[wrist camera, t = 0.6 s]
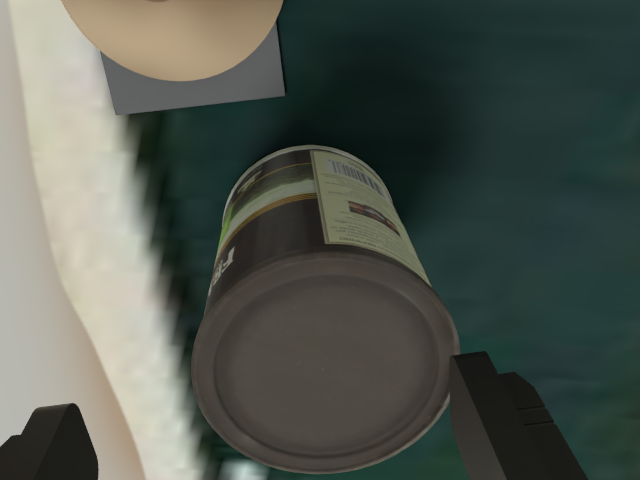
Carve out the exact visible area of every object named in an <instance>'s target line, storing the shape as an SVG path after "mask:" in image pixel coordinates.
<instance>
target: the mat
mask: <svg viewBox="0 0 640 480" xmlns="http://www.w3.org/2000/svg"><path fill="white" fill-rule="evenodd" d="M100 53H101V57H102V61H103V65H104V69H105V73H106V77H107V81H108V85H109V89H110V94H111V98H112V102H113V106H114V110H115V114H116V115H123V114H132V113H140V112H149V111H158V110H166V109H175V108H184V107H192V106H201V105H210V104H218V103H227V102H236V101H245V100H253V99H262V98H271V97H279V96H285V90H284V82H283V74H282V66H281V58H280V50H279V42H278V34H277V26H276V21H275V23H274V25H273V27H272V28H271V30H270V31H269V33H268V35H267V36H266V38H265V39H264V40H263V41H262V43H261V44H260V45H259V46H258V47H257V48H256V50H255V51H253V52H252V53H251V54H250V55H249V56H248V57H247V58H246V59H244V60H243V61H241V62H240V63H238V64H237V65H236V66H234V67H232V68H230V69H228V70H226V71H224V72H222V73H220V74H217V75H214V76H211V77H208V78H204V79H199V80H193V81H168V80H161V79H156V78H151V77H147V76H145V75H142V74H139V73H136V72H133V71H131V70H129V69H127V68H125V67H123V66H121V65H120V64H118V63H116V62H115V61H113V60H112V59H110V58H109V57H107V56H106V55H105V54H104V53H102V52H101V51H100Z"/></svg>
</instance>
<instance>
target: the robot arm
mask: <svg viewBox="0 0 640 480" xmlns="http://www.w3.org/2000/svg"><path fill="white" fill-rule="evenodd" d="M449 377H450V414H451V422H452V428H453V432H454V436H455V440H456V443H457V445H458V448H459V451H460V454H461V456H462V459H463V462H464V465H465V467H466V470H467V473H468V476H469V478H470V480H588V478H587V477H586V475H585V473H584V472H583V470H582V468H581V466H580V465H579V463H578V461H577V460H576V458H575V456H574V454H573V453H572V451H571V449H570V448H569V446H568V444H567V443H566V441H565V439H564V437H563V436H562V434H561V432H560V431H559V429H558V427H557V425H555V424H554V420H553V419H552V417H551V415H550V414H549V412H548V410H547V409H545V405H544V403H543V402H542V400H541V398H540V396H539V395H538V393H537V391H536V390H535V388H534V387H533V386H532V385H531V384H530V383H528V382H527V381H526V380H524V379H523V378H522V377H520V376H519V375H518V374H517V373H515V372H511V373H503V374H498V373H497V371H496V369H495V367H494V365H493V363H492V361H491V359H490V357H489V356H488V354H487V353H486V352H485V351H482V352H474V353H467V354H459V355H451V356H450V359H449ZM0 480H98V461H97V456H96V453H95V450H94V447H93V445H92V442H91V439H90V437H89V434H88V431H87V428H86V426H85V423H84V420H83V418H82V415H81V412H80V410H79V408H78V406H77V405H76V404H74V403H71V404H62V405H55V406H47V407H39V408H37V409H35V410H34V412H33V413H32V415H31V417H30V419H29V421H28V422H27V424H26V426H25V428H24V430H23V432H22V434H21V435H14V436H11V437H10V438H9V439H8V440H7V441H6V442H5V443H4V444H3V445H2V446H1V447H0Z"/></svg>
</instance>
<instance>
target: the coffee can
mask: <svg viewBox="0 0 640 480" xmlns="http://www.w3.org/2000/svg"><path fill="white" fill-rule="evenodd" d="M459 354H461V353H460V345H459V338H458V334H457V330H456V327H455V324H454V322H453V319H452V317H451V315H450V313H449V311H448V310H447V308H446V306H445V304H444V303H443V301H442V300H441V298H440V297H439V295H438V294H437V293H436V292H435V291H434V289H433V287H432V284H431V282H430V280H429V278H428V276H427V273H426V271H425V269H424V267H423V265H422V263H421V261H420V259H419V257H418V255H417V253H416V251H415V249H414V247H413V245H412V243H411V241H410V239H409V237H408V234H407V232H406V230H405V228H404V226H403V224H402V222H401V220H400V218H399V215H398V213H397V211H396V209H395V207H394V205H393V202H392V199H391V196H390V194H389V192H388V190H387V188H386V186H385V184H384V183H383V181H382V180H381V178H380V177H379V176H378V175H377V174H376V172H375V171H374V170H373V169H371V168H370V167H369V166H368V165H367V164H365V163H364V162H363V161H361V160H360V159H358V158H357V157H355V156H353V155H351V154H349V153H347V152H344V151H341V150H339V149H335V148H331V147H326V146H318V145H303V146H294V147H289V148H286V149H282V150H279V151H276V152H274V153H272V154H270V155H268V156H266V157H264V158H262V159H261V160H259V161H258V162H256V163H255V164H254V165H253V166H251V167H250V168H249V169H248V170H247V171H246V172H245V173H244V174H243V175H242V176H241V177H240V179H239V180H238V181H237V183H236V184H235V186H234V187H233V189H232V191H231V193H230V195H229V197H228V200H227V203H226V206H225V210H224V215H223V223H222V232H221V237H220V242H219V247H218V252H217V257H216V261H215V266H214V270H213V275H212V280H211V284H210V289H209V293H208V298H207V303H206V308H205V312H204V318H203V320H202V322H201V324H200V327H199V330H198V333H197V336H196V339H195V343H194V348H193V354H192V359H191V374H192V383H193V388H194V394H195V397H196V400H197V402H198V405H199V407H200V409H201V411H202V413H203V415H204V416H205V418H206V420H207V421H208V423H209V424H210V425H211V427H212V428H213V429H214V430H215V431H216V432H217V433H218V434H219V435H220V436H221V437H222V438H223V439H224V440H225V441H226V442H227V443H228V444H229V445H230V446H232V447H233V448H235V449H236V450H238V451H239V452H241V453H242V454H244V455H246V456H248V457H250V458H252V459H253V460H255V461H258V462H260V463H262V464H265V465H267V466H270V467H274V468H277V469H281V470H286V471H290V472H296V473H309V474H331V473H340V472H348V471H352V470H357V469H361V468H364V467H368V466H371V465H374V464H376V463H379V462H381V461H384V460H386V459H388V458H390V457H392V456H394V455H396V454H398V453H399V452H401V451H403V450H404V449H406V448H407V447H409V446H410V445H412V444H413V443H415V442H416V441H417V440H418V439H419V438H421V437H422V436H423V435H424V434H425V433H426V432H427V431H428V430H429V429H430V428H431V427H432V426H433V425H434V423H435V422H436V421H437V420H438V419H439V417H440V416H441V415H442V413H443V411H444V410H445V408H446V407H447V405H448V403H449V401H450V377H449V359H450V356H451V355H459Z"/></svg>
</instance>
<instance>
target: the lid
mask: <svg viewBox="0 0 640 480" xmlns="http://www.w3.org/2000/svg"><path fill="white" fill-rule="evenodd" d="M61 1H62V3H63V5H64V7H65V9H66V10H67V12H68V14H69V15H70V17H71V19H72V20H73V22H74V23H75V24H76V26H77V27H78V28H79V29H80V31H81V32H82V33H83V35H84V36H85V37H86V38H87V39H88V40H89V41H90V42H91V43H92V44H93V45H94V46H95V47H96V48H98V49H99V50H100V51H101V52H102V53H104V54H105V55H106V56H107V57H109V58H110V59H112V60H113V61H115V62H116V63H118V64H120V65H121V66H123V67H125V68H127V69H129V70H131V71H133V72H136V73H139V74H142V75H145V76H147V77H151V78H156V79H161V80H168V81H193V80H199V79H204V78H208V77H211V76H214V75H217V74H220V73H222V72H224V71H226V70H228V69H230V68H232V67H234V66H236V65H237V64H238V63H240V62H241V61H243V60H244V59H246V58H247V57H248V56H249V55H250V54H251V53H252V52H253V51H255V50H256V48H257V47H258V46H259V45H260V44H261V43H262V41H263V40H264V39H265V38H266V36H267V35H268V33H269V31H270V30H271V28H272V27H273V25H274V23H275V21H276V19H277V16H278V14H279V12H280V9H281V6H282V3H283V0H61Z"/></svg>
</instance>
